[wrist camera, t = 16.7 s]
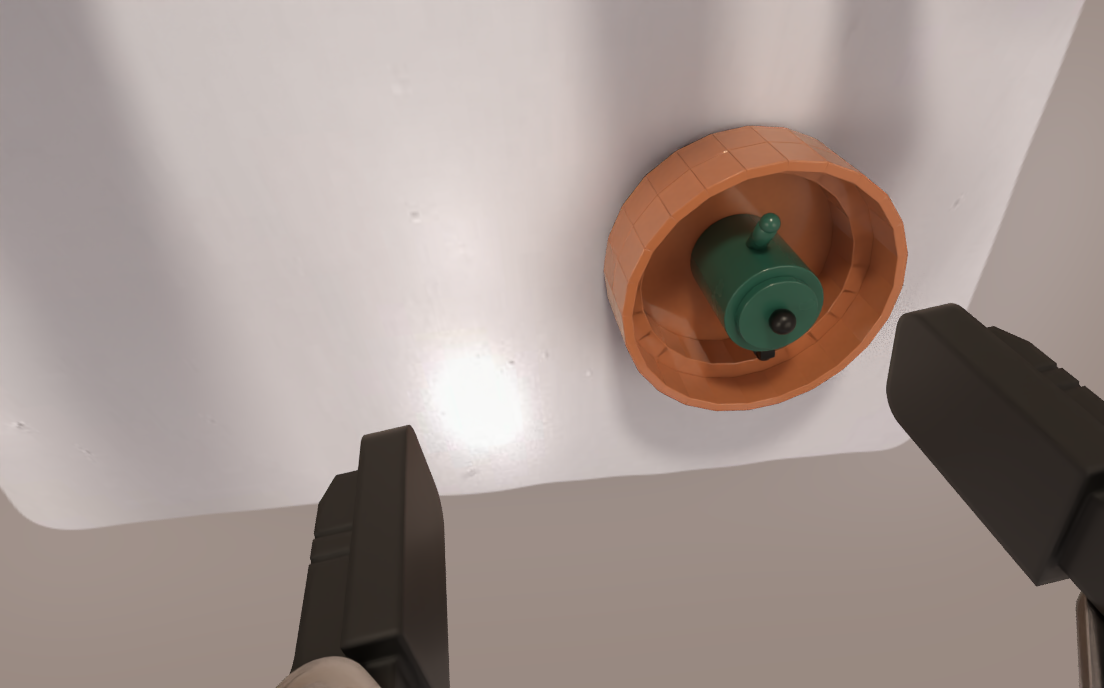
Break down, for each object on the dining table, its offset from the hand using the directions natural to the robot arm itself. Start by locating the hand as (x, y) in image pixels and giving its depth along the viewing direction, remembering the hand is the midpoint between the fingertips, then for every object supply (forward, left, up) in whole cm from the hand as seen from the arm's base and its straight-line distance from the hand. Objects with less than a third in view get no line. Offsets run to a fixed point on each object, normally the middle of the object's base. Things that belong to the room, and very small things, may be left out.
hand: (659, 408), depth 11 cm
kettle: (+11, -15, -28) cm, 34 cm away
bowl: (+11, -15, -29) cm, 34 cm away
